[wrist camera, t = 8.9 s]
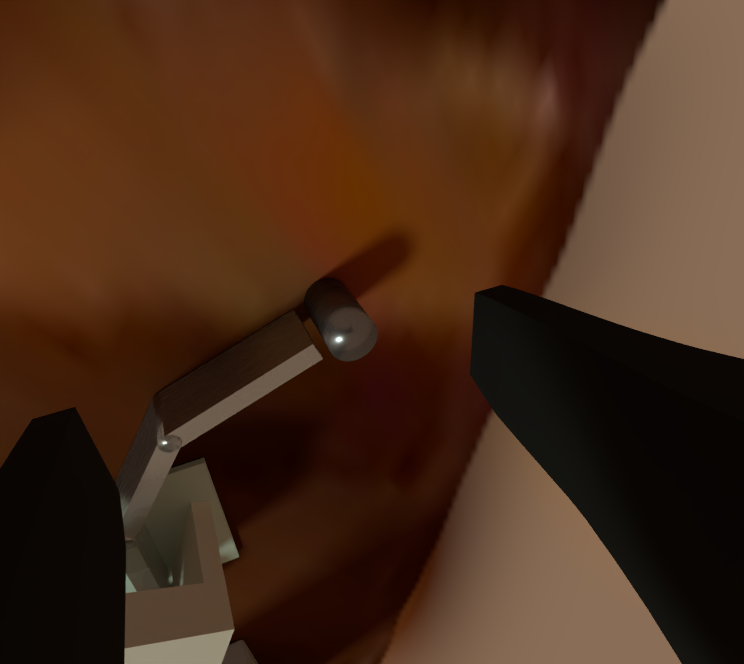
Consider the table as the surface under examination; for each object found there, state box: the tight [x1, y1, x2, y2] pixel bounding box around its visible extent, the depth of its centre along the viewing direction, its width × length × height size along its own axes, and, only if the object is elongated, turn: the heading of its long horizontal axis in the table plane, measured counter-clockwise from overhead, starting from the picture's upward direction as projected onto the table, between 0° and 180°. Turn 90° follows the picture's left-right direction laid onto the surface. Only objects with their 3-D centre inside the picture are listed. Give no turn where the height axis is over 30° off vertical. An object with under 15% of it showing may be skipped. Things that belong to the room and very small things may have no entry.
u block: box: [124, 501, 234, 664], centre depth 21 cm, size 4×5×6 cm
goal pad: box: [126, 458, 239, 593], centre depth 24 cm, size 7×7×1 cm
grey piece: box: [115, 278, 378, 592], centre depth 21 cm, size 6×19×3 cm, turn 149°
